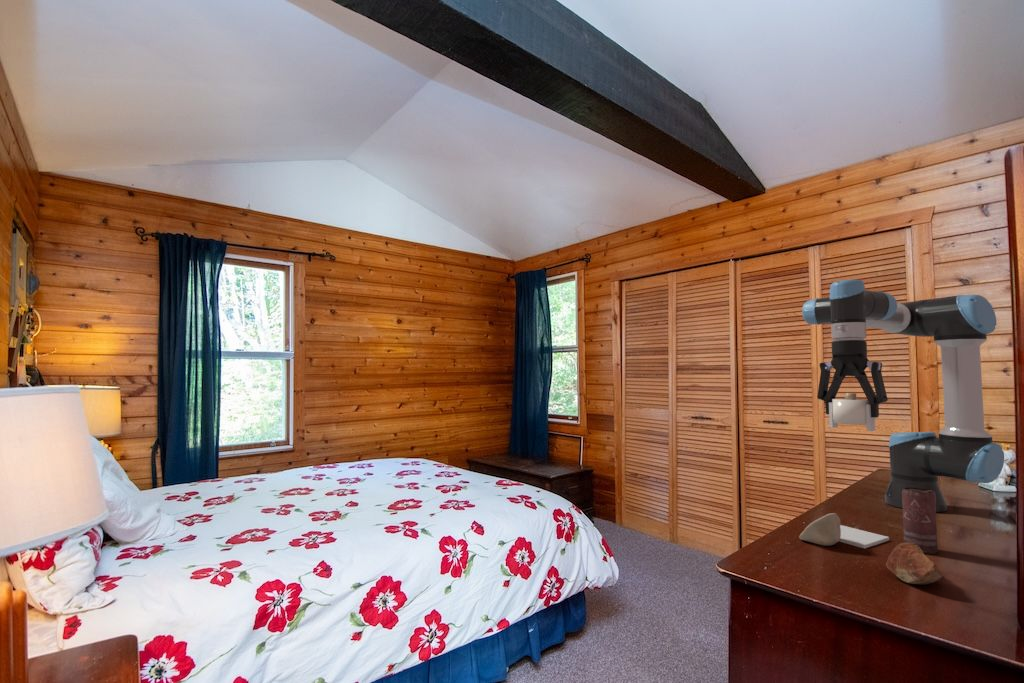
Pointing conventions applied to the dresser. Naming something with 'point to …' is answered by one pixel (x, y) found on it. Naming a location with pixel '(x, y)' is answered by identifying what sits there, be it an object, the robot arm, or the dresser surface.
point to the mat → (860, 537)
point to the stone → (823, 530)
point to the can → (920, 518)
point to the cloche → (849, 410)
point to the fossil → (912, 565)
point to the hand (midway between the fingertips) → (851, 428)
